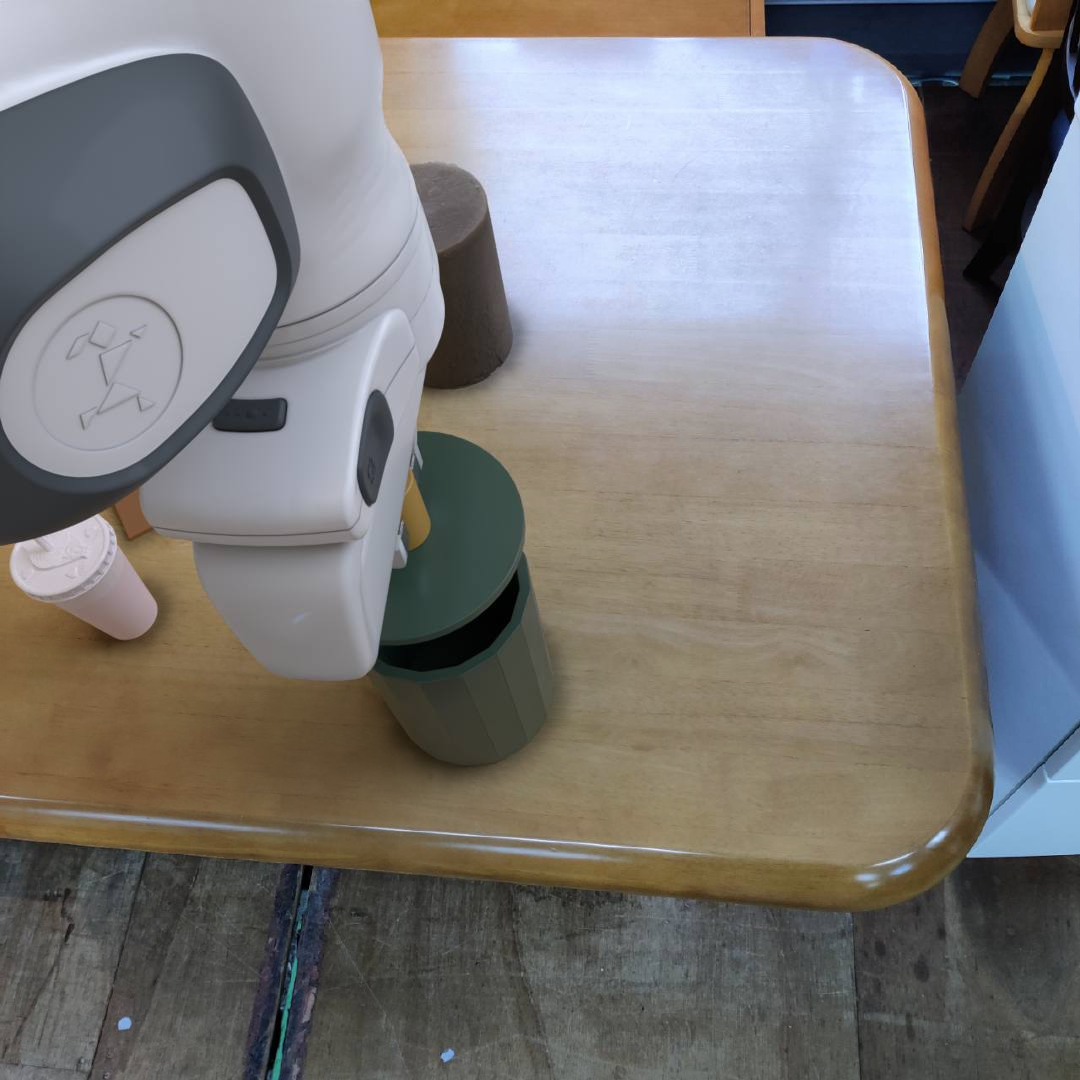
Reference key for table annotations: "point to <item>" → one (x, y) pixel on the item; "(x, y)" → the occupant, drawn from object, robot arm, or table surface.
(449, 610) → the tin lid
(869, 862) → the table surface
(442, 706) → the tin
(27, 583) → the smoothie
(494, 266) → the pillar candle
